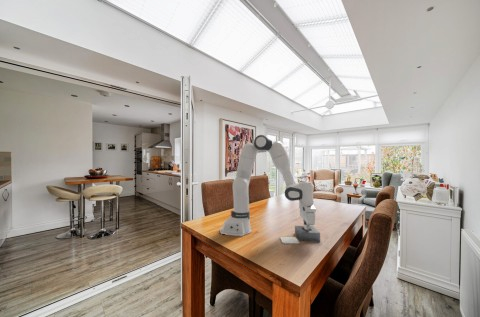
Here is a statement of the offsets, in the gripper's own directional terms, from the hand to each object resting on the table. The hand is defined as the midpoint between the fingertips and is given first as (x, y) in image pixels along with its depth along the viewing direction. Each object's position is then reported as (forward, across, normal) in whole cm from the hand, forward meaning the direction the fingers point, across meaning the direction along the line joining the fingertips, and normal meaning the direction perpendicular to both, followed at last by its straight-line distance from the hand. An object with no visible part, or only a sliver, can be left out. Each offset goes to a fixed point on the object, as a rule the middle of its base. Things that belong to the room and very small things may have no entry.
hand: (306, 227), depth 113 cm
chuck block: (+6, 0, 0) cm, 6 cm away
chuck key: (+4, 0, 0) cm, 4 cm away
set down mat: (+6, +7, -13) cm, 15 cm away
